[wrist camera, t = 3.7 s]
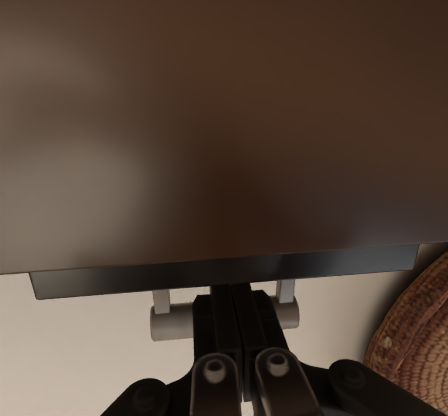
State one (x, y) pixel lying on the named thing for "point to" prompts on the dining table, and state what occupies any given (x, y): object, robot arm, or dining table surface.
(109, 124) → the cabinet
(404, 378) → the basket
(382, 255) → the drawer
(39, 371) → the dining table surface
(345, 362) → the robot arm
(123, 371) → the dining table surface
